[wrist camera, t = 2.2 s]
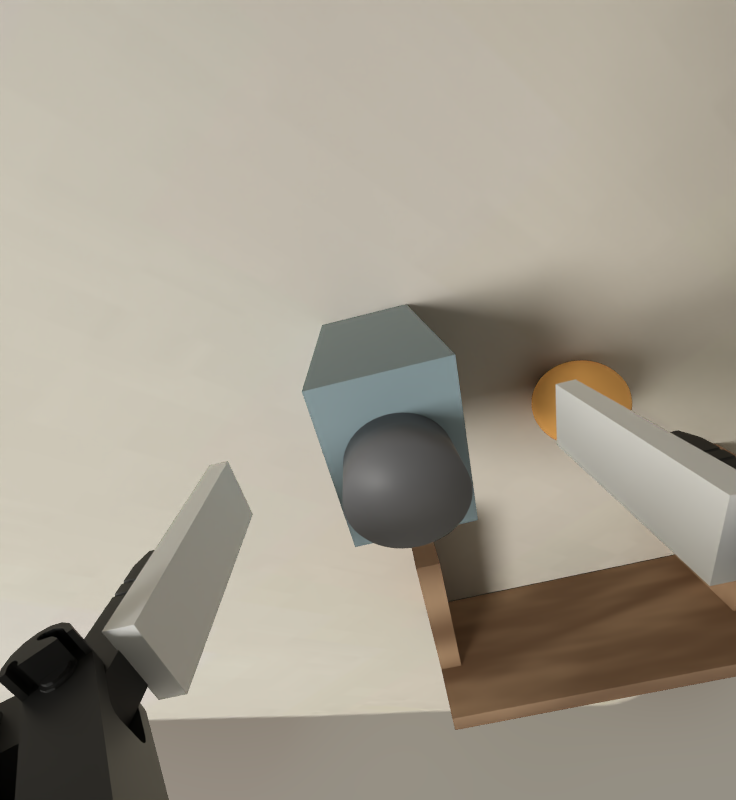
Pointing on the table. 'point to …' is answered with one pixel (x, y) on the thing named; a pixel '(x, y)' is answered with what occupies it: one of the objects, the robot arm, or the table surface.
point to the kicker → (391, 428)
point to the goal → (578, 638)
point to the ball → (583, 372)
